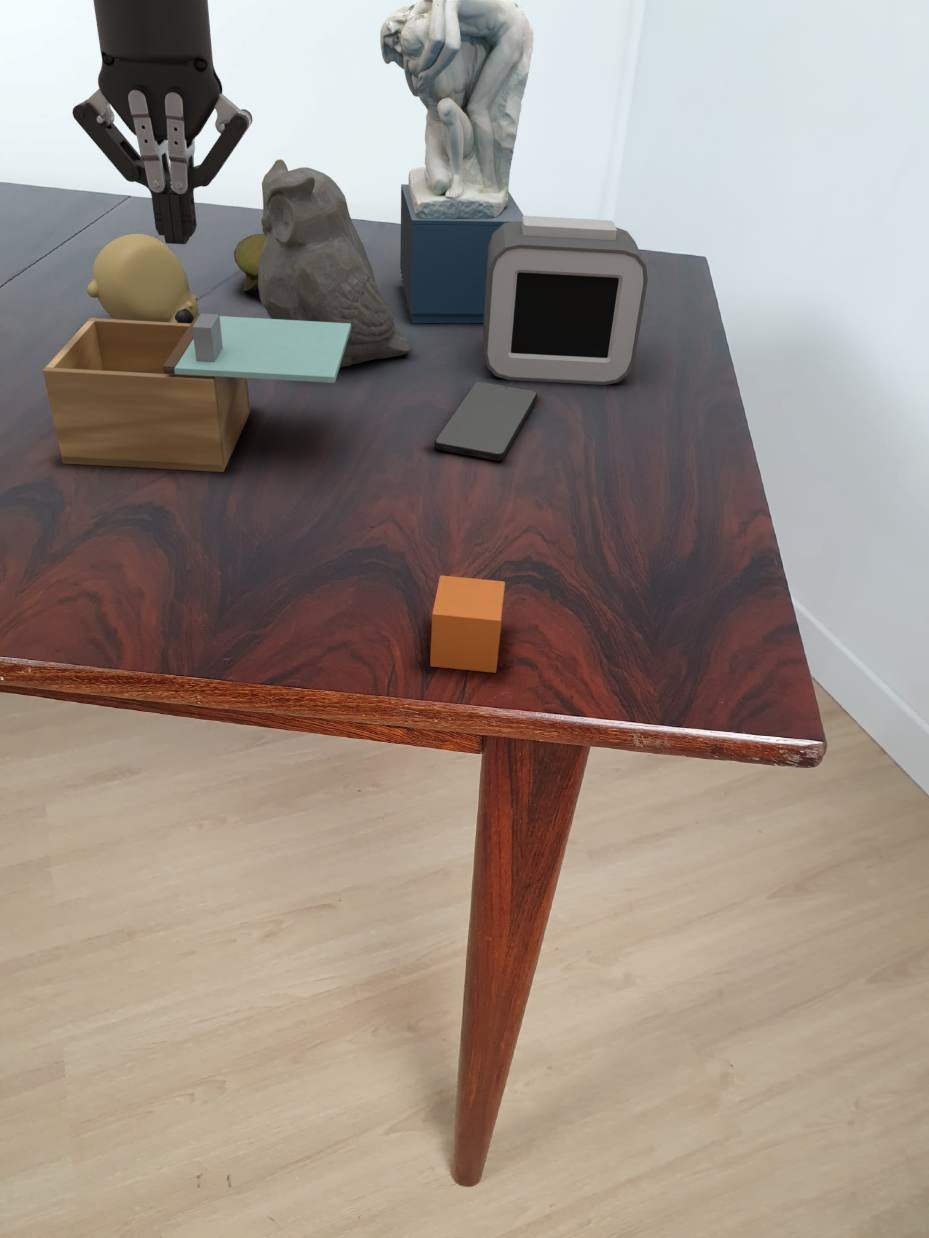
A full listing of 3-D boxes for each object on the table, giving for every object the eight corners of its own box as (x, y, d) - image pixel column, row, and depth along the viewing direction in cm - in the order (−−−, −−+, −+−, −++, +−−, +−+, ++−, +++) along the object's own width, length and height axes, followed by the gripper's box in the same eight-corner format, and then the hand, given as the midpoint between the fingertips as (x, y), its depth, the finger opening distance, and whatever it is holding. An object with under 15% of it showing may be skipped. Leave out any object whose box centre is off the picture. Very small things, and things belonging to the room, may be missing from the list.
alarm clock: (482, 378, 107) (492, 231, 98) (481, 339, 116) (490, 202, 107) (630, 386, 108) (654, 240, 98) (618, 347, 117) (638, 210, 107)
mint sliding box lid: (335, 383, 83) (333, 342, 80) (163, 373, 82) (157, 332, 80) (351, 329, 92) (350, 291, 90) (198, 320, 92) (194, 282, 90)
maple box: (223, 472, 88) (213, 380, 83) (62, 463, 88) (42, 370, 82) (250, 412, 98) (242, 326, 92) (105, 404, 97) (89, 317, 92)
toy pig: (151, 375, 112) (215, 315, 109) (62, 297, 105) (128, 231, 102) (161, 339, 120) (222, 282, 116) (79, 265, 113) (141, 202, 109)
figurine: (254, 337, 113) (239, 150, 101) (389, 327, 118) (389, 147, 106) (276, 387, 103) (262, 184, 91) (423, 373, 107) (428, 179, 95)
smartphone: (432, 442, 93) (476, 380, 104) (432, 451, 93) (475, 388, 105) (502, 455, 91) (539, 391, 103) (502, 464, 92) (538, 399, 103)
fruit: (207, 283, 127) (201, 230, 123) (284, 266, 134) (281, 216, 130) (255, 308, 121) (251, 254, 117) (334, 290, 127) (333, 238, 123)
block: (430, 666, 68) (432, 613, 65) (437, 626, 71) (440, 574, 69) (496, 673, 68) (501, 620, 65) (500, 632, 71) (505, 581, 68)
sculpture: (385, 324, 119) (385, -19, 97) (377, 280, 131) (376, -32, 110) (522, 324, 121) (552, -11, 100) (502, 281, 134) (524, -25, 112)
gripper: (28, -28, 62) (76, 251, 73) (237, -14, 63) (256, 261, 73) (65, -35, 68) (105, 223, 79) (256, -22, 69) (270, 233, 79)
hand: (178, 241), depth 76 cm, fingers closed
